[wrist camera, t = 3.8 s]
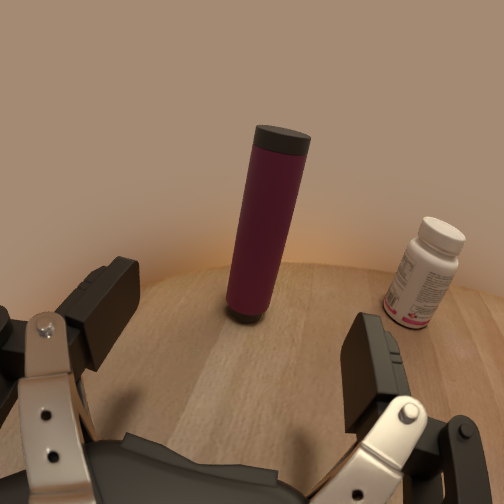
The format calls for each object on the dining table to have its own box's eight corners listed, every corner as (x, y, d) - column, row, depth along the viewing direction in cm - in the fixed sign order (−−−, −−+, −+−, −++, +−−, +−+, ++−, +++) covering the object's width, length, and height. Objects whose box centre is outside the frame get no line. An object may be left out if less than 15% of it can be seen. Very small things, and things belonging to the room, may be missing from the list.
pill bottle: (433, 314, 25) (473, 235, 21) (418, 338, 22) (467, 248, 18) (393, 289, 28) (427, 210, 24) (373, 308, 25) (412, 218, 21)
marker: (243, 332, 20) (286, 136, 14) (215, 306, 22) (244, 123, 16) (274, 316, 22) (321, 139, 16) (247, 293, 24) (282, 126, 18)
